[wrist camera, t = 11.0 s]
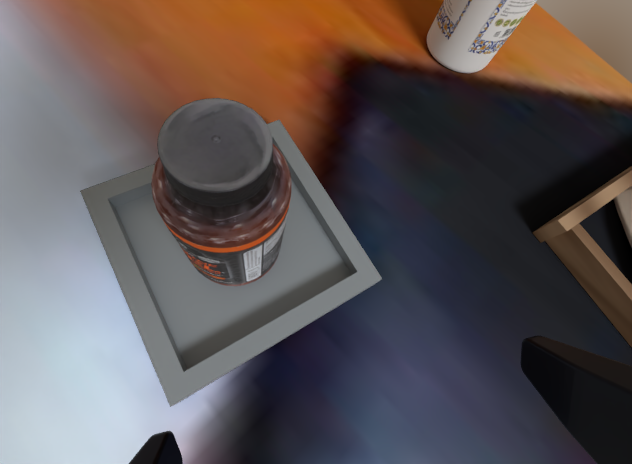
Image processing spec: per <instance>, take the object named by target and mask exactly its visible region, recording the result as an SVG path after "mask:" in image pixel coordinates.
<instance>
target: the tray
mask: <svg viewBox="0 0 632 464" xmlns="http://www.w3.org/2000/svg"><path fill="white" fill-rule="evenodd" d="M267 126H268V128H269V129H270V133H271V136H272V140H273V144H274V145H275V146H276V147H277V148H278V149H279V150H280V152H281V153H282V155H283V156H284V158H285V160H286V162H287V165H288V167H289V170H290V175H291V182H292V186H291V198H290V203H289V210H288V214H287V219H286V224H285V229H284V234H283V239H282V244H281V248H280V252H279V255H278V258H277V260H276V262H275V263H274V265H273V266H272V268H271V269H270V270H269V271H268V272H267V273H266V274H265V275H264V276H263V277H261V278H260V279H258V280H256V281H254V282H251V283H249V284H246V285H241V286H226V285H221V284H218V283H215V282H213V281H211V280H209V279H207V278H206V277H204V276H203V275H202V274H201V273H199V272H198V271H197V269H196V268H195V267H194V266H193V264H192V263H191V262H190V260H189V259H188V257H187V256H186V255H185V253H184V251H183V249H182V248H181V247H180V245H179V243H178V242H177V241H176V239H175V238H174V236H173V235H172V233H171V232H170V231H169V229H168V228H167V226H166V224H165V223H164V221H163V219H162V218H161V216H160V214H159V213H158V211H157V209H156V206H155V203H154V200H153V195H152V187H151V183H152V174H153V170H154V166H155V164H154V165H151V166H148V167H145V168H143V169H140V170H137V171H134V172H131V173H129V174H126V175H123V176H120V177H117V178H115V179H112V180H109V181H106V182H103V183H101V184H98V185H95V186H92V187H89V188H87V189H84V190H81V191H80V192H81V194H82V196H83V199H84V201H85V203H86V206H87V208H88V211H89V213H90V215H91V218H92V220H93V223H94V225H95V227H96V230H97V232H98V235H99V237H100V239H101V242H102V244H103V247H104V249H105V251H106V254H107V256H108V259H109V261H110V263H111V266H112V268H113V270H114V273H115V275H116V278H117V280H118V282H119V285H120V287H121V290H122V292H123V294H124V297H125V299H126V302H127V304H128V306H129V309H130V311H131V314H132V316H133V318H134V321H135V323H136V326H137V328H138V330H139V333H140V335H141V337H142V340H143V342H144V345H145V347H146V349H147V352H148V354H149V357H150V359H151V361H152V364H153V366H154V369H155V371H156V373H157V376H158V378H159V381H160V383H161V385H162V388H163V390H164V393H165V395H166V397H167V400H168V402H169V404H170V407H171V406H173V405H175V404H177V403H179V402H181V401H182V400H184V399H186V398H187V397H189V396H191V395H192V394H194V393H195V392H197V391H199V390H200V389H202V388H204V387H205V386H207V385H209V384H210V383H212V382H214V381H215V380H217V379H219V378H220V377H222V376H224V375H225V374H227V373H229V372H230V371H232V370H234V369H235V368H237V367H239V366H240V365H242V364H243V363H245V362H247V361H248V360H250V359H252V358H253V357H255V356H257V355H258V354H260V353H262V352H263V351H265V350H267V349H268V348H270V347H272V346H273V345H275V344H277V343H278V342H280V341H282V340H283V339H285V338H287V337H288V336H290V335H291V334H293V333H295V332H296V331H298V330H300V329H301V328H303V327H305V326H306V325H308V324H310V323H311V322H313V321H315V320H316V319H318V318H320V317H321V316H323V315H325V314H326V313H328V312H330V311H331V310H333V309H335V308H336V307H338V306H340V305H341V304H343V303H344V302H346V301H348V300H349V299H351V298H353V297H354V296H356V295H358V294H359V293H361V292H363V291H364V290H366V289H368V288H369V287H371V286H373V285H374V284H376V283H377V282H379V281H380V280H381V279H382V278H381V276H380V275H379V273H378V272H377V270H376V268H375V267H374V265H373V264H372V262H371V261H370V259H369V258H368V256H367V255H366V253H365V251H364V250H363V248H362V247H361V245H360V244H359V242H358V241H357V239H356V237H355V236H354V234H353V233H352V231H351V230H350V228H349V227H348V225H347V224H346V222H345V220H344V219H343V217H342V216H341V214H340V213H339V211H338V210H337V208H336V207H335V205H334V203H333V202H332V200H331V199H330V197H329V196H328V194H327V193H326V191H325V190H324V188H323V186H322V185H321V183H320V182H319V180H318V179H317V177H316V176H315V174H314V172H313V171H312V169H311V168H310V166H309V165H308V163H307V162H306V160H305V159H304V157H303V155H302V154H301V152H300V151H299V149H298V148H297V146H296V145H295V143H294V142H293V140H292V138H291V137H290V135H289V134H288V132H287V131H286V129H285V128H284V126H283V125H282V123H281V121H280V120H277V121H274V122H272V123H269V124H267Z"/></svg>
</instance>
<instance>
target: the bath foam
mask: <svg viewBox="0 0 632 464" xmlns="http://www.w3.org/2000/svg"><path fill="white" fill-rule="evenodd" d="M536 1H537V0H444V1H443V3H442V5H441V7H440V9H439V11H438V13H437V16H436V18H435V20H434V22H433V23H432V25H431V27H430V29H429V32H428V34H427V46H428V49H429V51H430V53H431V54H432V56H433V57H434V58H435V59H436V60H437V61H438V62H439V63H440V64H442V65H443V66H445V67H447V68H448V69H451V70H453V71H456V72H461V73H473V72H477V71H480V70H481V69H483V68H484V67H485V66H486V65H487V64H488V63H489V62H490V60H491V59H492V58H493V57H494V55H495V54H496V53H497V51H498V50H499V49H500V48H501V46H502V45H503V44H504V43H505V41H506V40H507V39H508V37H509V36H510V35H511V33H512V32H513V31H514V30H515V28H516V27H517V26H518V24H519V23H520V22H521V20H522V19H523V18H524V17H525V15H526V14H527V13H528V11H529V10H530V9H531V7H532V6H533V5H534V3H535V2H536Z"/></svg>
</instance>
